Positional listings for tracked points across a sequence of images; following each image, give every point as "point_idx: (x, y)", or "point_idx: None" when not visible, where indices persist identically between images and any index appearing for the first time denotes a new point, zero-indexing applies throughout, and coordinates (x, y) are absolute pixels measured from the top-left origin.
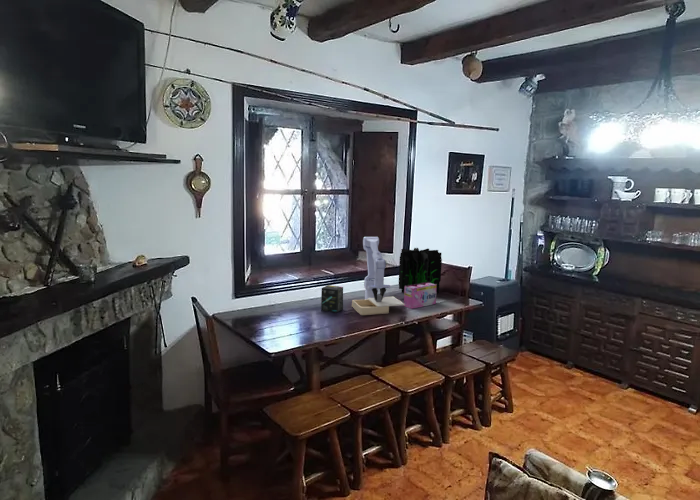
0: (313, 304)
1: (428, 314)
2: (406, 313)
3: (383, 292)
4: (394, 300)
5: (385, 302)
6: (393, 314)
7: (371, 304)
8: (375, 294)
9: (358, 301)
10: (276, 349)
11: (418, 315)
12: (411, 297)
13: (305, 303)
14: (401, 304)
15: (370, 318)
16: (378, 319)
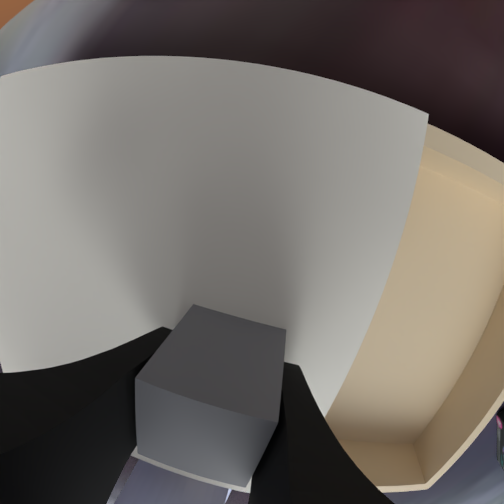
0: (494, 488)
1: (4, 26)
2: (72, 54)
3: (33, 399)
4: (9, 258)
5: (146, 230)
6: (196, 47)
7: None
8: (351, 463)
9: (381, 476)
10: None
11: (50, 3)
12: None
13: (496, 496)
14: (26, 71)
15: (500, 76)
16: (446, 9)
